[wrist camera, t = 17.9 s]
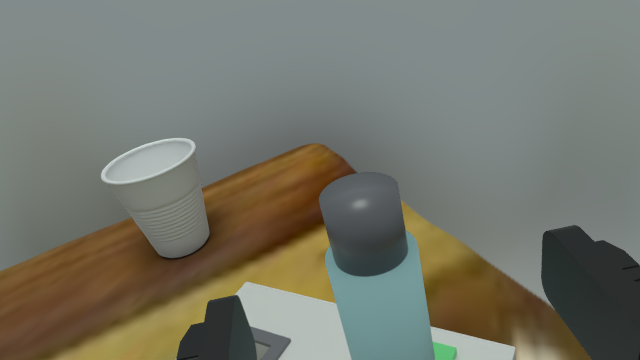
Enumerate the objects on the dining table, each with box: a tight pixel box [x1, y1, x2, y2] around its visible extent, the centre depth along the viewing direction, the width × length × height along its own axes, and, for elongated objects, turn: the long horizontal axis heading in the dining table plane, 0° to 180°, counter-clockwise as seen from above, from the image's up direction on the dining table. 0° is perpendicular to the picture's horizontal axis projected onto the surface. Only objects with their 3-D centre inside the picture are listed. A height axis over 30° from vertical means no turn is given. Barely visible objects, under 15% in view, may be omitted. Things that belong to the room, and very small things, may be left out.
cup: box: [101, 138, 210, 258], centre depth 53 cm, size 10×10×11 cm
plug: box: [319, 172, 435, 360], centre depth 24 cm, size 4×4×19 cm
